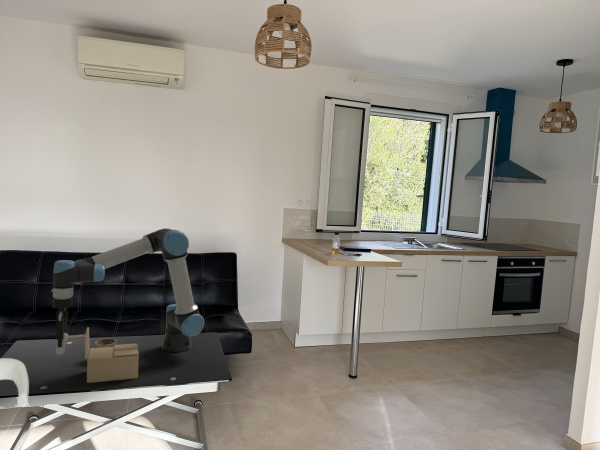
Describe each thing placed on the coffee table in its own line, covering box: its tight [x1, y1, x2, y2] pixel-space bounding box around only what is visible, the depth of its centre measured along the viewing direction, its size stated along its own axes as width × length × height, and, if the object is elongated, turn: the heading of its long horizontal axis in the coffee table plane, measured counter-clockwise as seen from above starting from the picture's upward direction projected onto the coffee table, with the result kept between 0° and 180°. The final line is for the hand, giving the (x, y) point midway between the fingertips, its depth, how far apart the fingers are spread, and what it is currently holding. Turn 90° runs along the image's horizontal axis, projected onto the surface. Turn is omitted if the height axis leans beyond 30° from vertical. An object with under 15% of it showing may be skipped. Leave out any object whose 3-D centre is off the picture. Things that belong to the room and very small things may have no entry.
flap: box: [64, 326, 90, 360], centre depth 186 cm, size 10×14×11 cm
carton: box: [86, 343, 140, 384], centre depth 192 cm, size 20×14×11 cm
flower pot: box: [94, 338, 118, 348], centre depth 209 cm, size 9×9×9 cm
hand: (60, 352), depth 184 cm, fingers closed on flap, 4 cm apart
